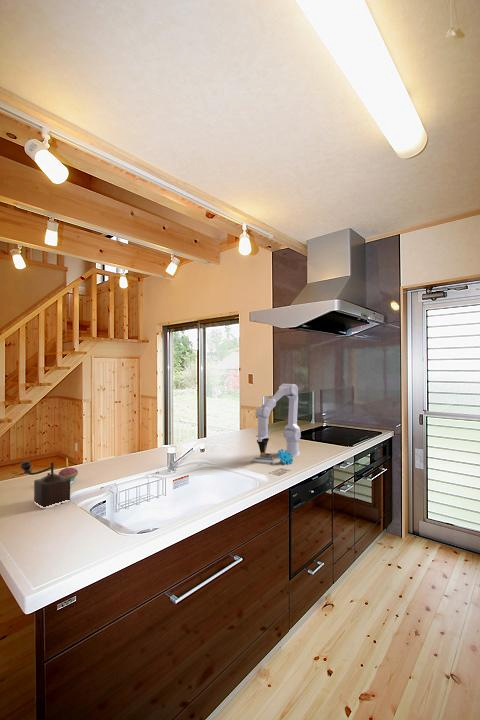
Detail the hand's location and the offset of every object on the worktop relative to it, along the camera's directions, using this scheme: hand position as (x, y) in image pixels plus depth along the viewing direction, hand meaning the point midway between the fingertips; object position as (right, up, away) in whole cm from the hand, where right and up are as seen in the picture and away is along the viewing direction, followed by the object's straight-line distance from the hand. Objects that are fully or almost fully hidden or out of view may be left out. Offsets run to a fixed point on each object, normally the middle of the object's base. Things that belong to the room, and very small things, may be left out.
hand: (263, 451), depth 197 cm
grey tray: (0, -6, 0) cm, 6 cm away
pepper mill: (-92, -6, -59) cm, 109 cm away
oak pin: (0, -3, 0) cm, 2 cm away
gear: (+13, -6, -4) cm, 14 cm away
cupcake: (-95, -6, -33) cm, 101 cm away
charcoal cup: (+3, -6, +8) cm, 10 cm away
